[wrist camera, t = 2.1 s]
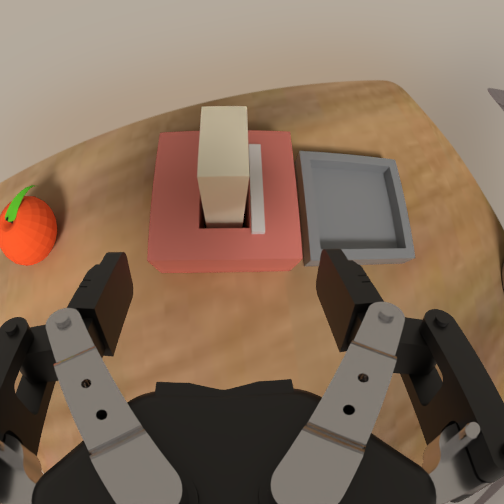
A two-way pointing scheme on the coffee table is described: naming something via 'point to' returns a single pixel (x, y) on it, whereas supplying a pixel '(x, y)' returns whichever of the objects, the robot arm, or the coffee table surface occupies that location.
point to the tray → (352, 208)
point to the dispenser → (224, 239)
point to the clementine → (27, 229)
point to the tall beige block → (223, 165)
